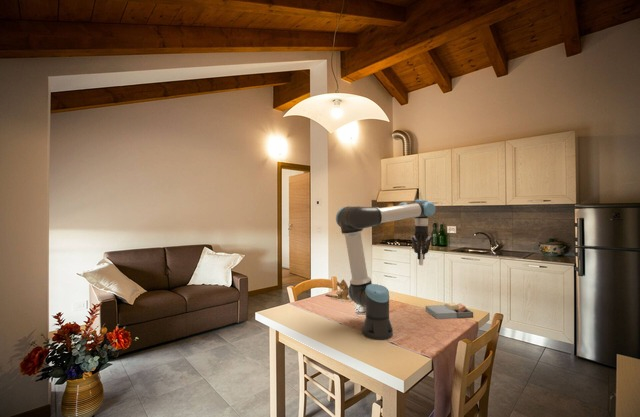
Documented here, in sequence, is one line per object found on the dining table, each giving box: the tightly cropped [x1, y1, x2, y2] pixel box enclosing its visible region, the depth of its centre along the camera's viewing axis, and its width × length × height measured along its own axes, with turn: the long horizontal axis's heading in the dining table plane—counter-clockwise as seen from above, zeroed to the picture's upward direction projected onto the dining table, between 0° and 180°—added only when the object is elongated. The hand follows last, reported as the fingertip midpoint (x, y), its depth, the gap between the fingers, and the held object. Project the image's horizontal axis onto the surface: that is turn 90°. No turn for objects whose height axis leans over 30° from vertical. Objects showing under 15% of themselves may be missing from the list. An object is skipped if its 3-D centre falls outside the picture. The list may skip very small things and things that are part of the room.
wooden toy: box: [324, 279, 353, 303], centre depth 212 cm, size 22×10×14 cm, turn 53°
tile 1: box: [445, 302, 459, 310], centre depth 179 cm, size 5×5×2 cm
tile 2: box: [455, 302, 467, 312], centre depth 180 cm, size 5×5×2 cm
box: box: [444, 303, 474, 319], centre depth 179 cm, size 15×10×3 cm, turn 6°
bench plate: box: [425, 304, 458, 320], centre depth 178 cm, size 14×12×3 cm
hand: (420, 264), depth 180 cm, fingers closed
